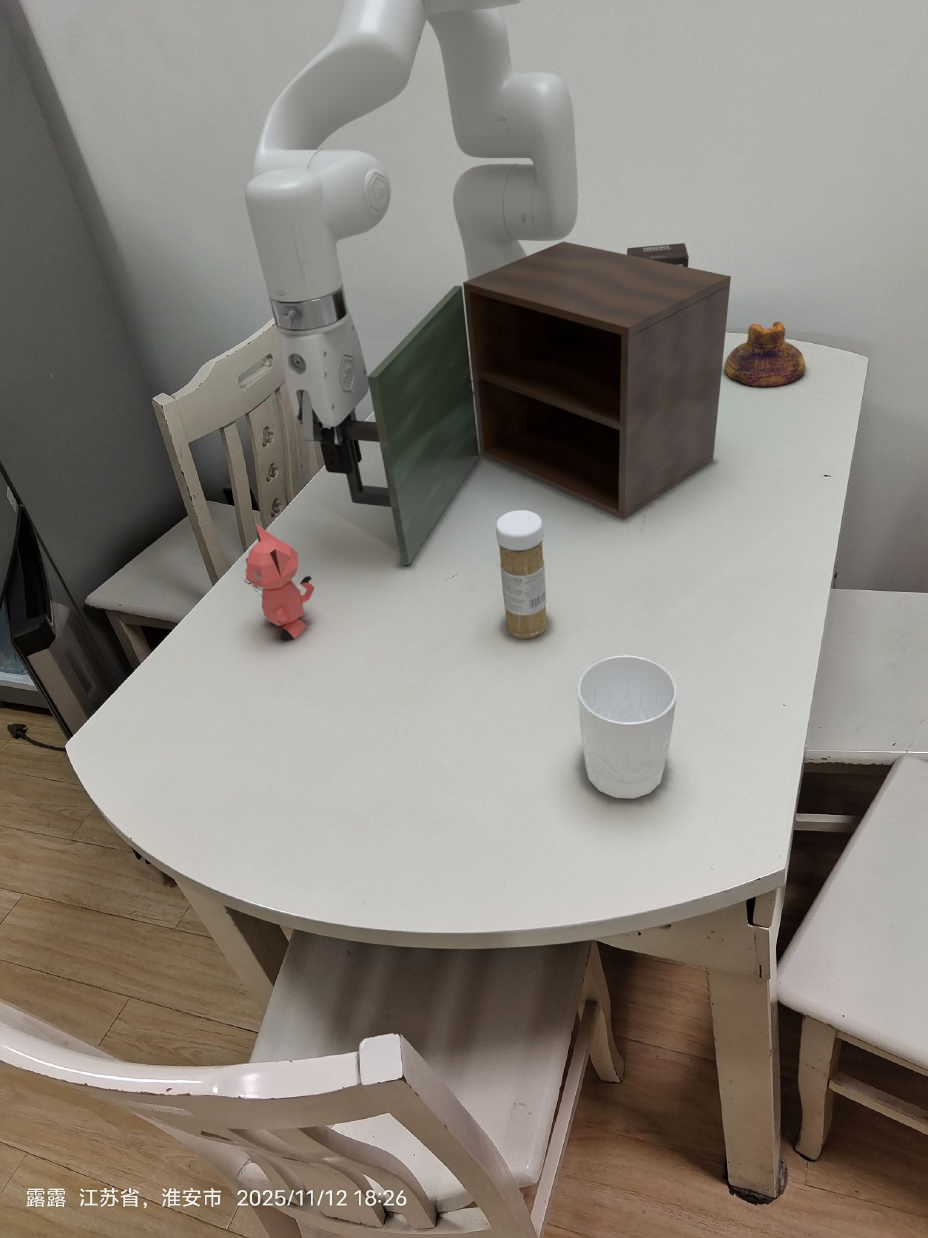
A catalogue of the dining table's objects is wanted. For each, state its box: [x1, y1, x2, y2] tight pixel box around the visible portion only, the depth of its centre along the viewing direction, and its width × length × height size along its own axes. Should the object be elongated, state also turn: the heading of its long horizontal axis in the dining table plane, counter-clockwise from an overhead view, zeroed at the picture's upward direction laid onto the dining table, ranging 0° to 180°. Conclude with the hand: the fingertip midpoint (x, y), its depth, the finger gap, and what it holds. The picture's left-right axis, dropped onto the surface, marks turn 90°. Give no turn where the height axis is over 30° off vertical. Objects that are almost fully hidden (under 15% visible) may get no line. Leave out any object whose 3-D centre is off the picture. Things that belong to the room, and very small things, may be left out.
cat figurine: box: [242, 523, 315, 642], centre depth 91 cm, size 7×7×12 cm
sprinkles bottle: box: [495, 509, 549, 639], centre depth 87 cm, size 5×5×14 cm
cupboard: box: [462, 241, 732, 521], centre depth 109 cm, size 18×26×24 cm
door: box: [340, 285, 480, 566], centre depth 104 cm, size 7×26×24 cm, turn 160°
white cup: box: [576, 654, 678, 800], centre depth 72 cm, size 8×8×10 cm
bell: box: [724, 320, 806, 387], centre depth 129 cm, size 12×12×7 cm
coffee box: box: [626, 242, 690, 268], centre depth 135 cm, size 9×6×16 cm
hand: (344, 465), depth 98 cm, fingers closed on door
